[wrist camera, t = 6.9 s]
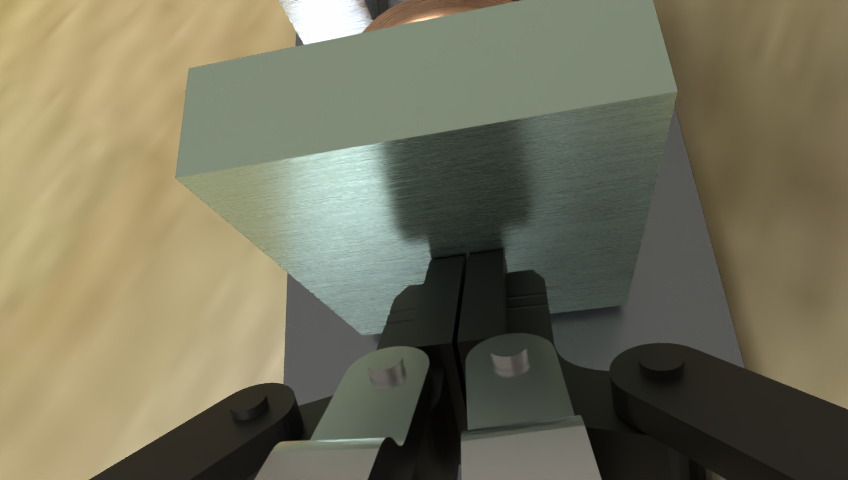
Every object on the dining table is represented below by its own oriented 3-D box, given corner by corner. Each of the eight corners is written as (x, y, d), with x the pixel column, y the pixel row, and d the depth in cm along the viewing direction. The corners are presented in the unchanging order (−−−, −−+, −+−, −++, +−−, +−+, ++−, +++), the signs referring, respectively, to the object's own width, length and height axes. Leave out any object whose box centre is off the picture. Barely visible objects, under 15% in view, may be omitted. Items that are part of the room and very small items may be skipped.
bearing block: (309, -49, 26) (169, -344, 17) (607, -118, 24) (625, -496, 15) (290, 674, 16) (-90, 886, 7) (810, 664, 14) (1263, 953, 5)
